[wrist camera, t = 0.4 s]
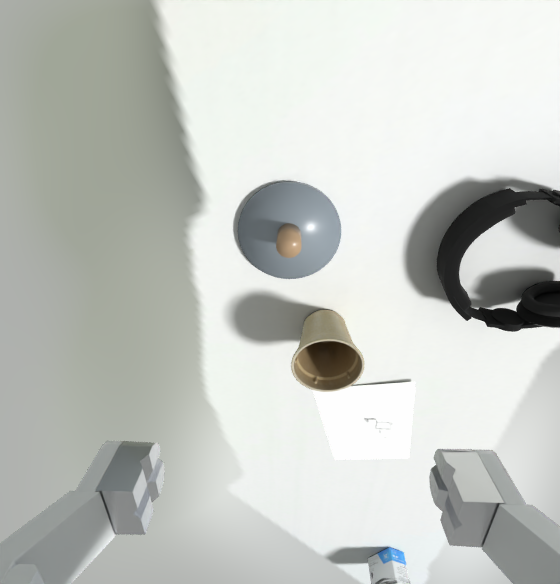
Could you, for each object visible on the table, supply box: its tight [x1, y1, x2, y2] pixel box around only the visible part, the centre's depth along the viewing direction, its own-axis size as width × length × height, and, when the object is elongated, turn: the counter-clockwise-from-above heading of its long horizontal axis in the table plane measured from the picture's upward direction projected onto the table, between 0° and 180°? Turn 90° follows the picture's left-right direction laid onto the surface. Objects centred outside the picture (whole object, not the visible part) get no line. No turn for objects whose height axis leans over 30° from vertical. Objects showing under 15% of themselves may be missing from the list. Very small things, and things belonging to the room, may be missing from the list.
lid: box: [238, 181, 341, 279], centre depth 45 cm, size 13×13×4 cm
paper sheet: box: [312, 382, 416, 460], centre depth 67 cm, size 24×29×1 cm
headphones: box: [437, 188, 560, 332], centre depth 44 cm, size 18×8×20 cm
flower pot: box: [291, 310, 364, 392], centre depth 51 cm, size 9×9×9 cm
